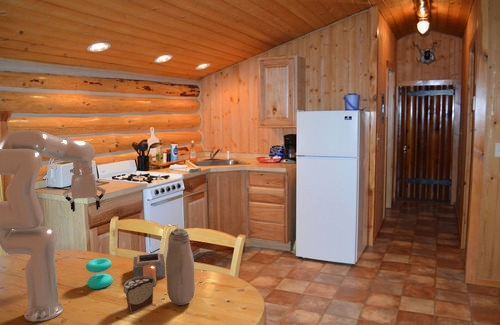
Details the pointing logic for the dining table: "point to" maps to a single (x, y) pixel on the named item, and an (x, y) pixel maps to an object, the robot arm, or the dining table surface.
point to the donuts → (99, 279)
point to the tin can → (150, 272)
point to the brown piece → (139, 292)
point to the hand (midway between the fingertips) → (85, 210)
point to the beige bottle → (180, 268)
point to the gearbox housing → (149, 259)
